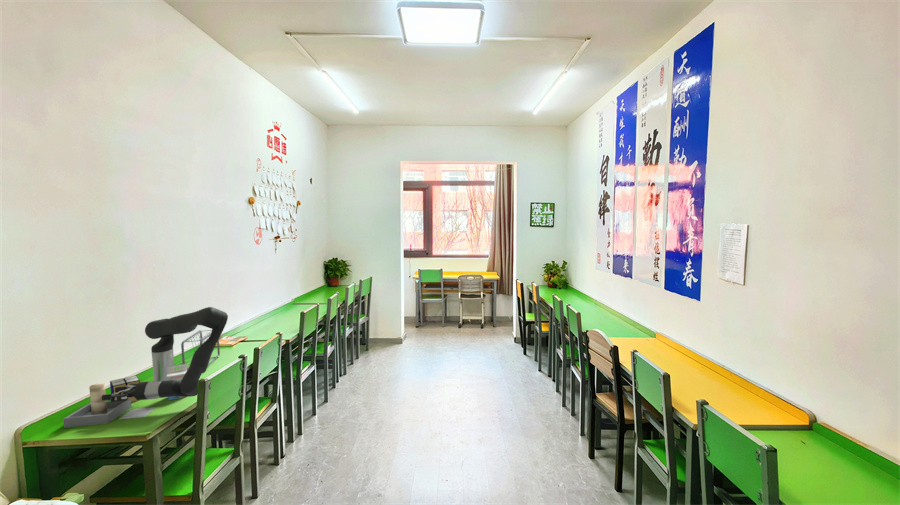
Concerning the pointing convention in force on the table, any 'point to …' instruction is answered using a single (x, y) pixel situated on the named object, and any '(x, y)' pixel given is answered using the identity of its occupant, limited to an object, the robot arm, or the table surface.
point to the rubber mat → (137, 413)
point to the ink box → (176, 375)
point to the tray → (86, 417)
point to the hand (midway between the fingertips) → (109, 393)
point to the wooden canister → (98, 399)
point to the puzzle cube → (124, 384)
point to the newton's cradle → (198, 344)
